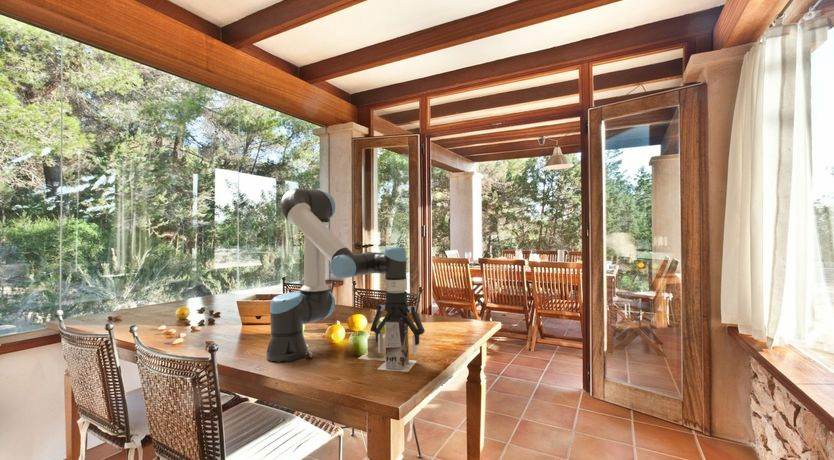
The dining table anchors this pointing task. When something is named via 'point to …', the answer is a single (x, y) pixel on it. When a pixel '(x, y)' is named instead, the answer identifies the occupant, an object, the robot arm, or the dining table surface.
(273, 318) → the robot arm
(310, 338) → the dining table surface
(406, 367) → the tile
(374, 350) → the oak block
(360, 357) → the code tile
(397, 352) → the coffee box
